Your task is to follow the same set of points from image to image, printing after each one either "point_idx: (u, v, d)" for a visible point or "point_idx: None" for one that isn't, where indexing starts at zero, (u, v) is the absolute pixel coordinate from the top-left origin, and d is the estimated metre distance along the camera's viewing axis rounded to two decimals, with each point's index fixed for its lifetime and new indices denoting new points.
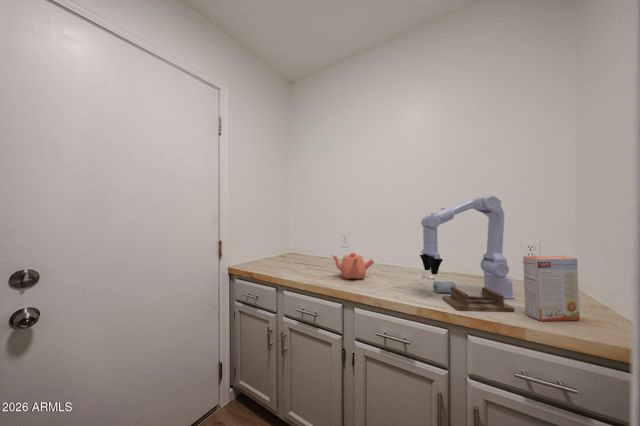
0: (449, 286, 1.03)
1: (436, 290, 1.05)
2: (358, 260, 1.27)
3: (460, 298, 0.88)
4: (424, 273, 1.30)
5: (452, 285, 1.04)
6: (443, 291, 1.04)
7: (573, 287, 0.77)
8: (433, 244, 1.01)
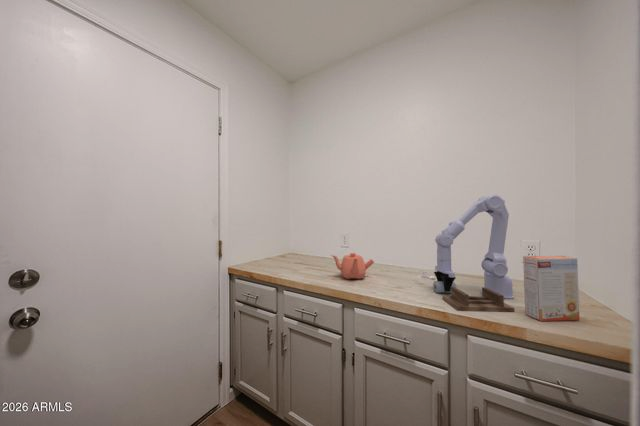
0: None
1: (436, 290, 1.05)
2: (358, 260, 1.27)
3: (460, 298, 0.88)
4: (424, 273, 1.30)
5: (452, 285, 1.04)
6: (443, 291, 1.04)
7: (573, 287, 0.77)
8: (447, 262, 1.03)
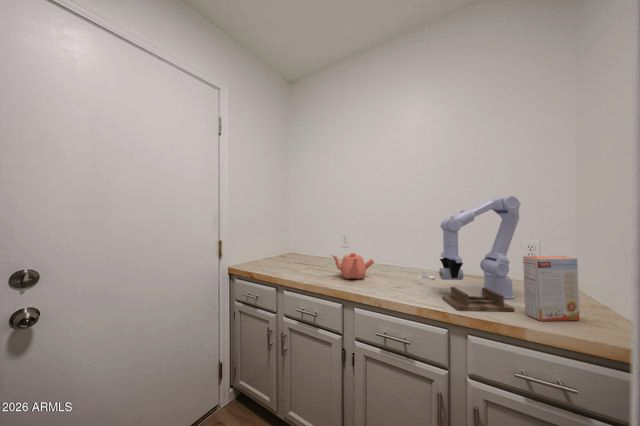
0: None
1: (442, 277, 1.01)
2: (358, 260, 1.27)
3: (460, 298, 0.88)
4: (424, 273, 1.30)
5: (459, 271, 1.00)
6: (450, 278, 1.00)
7: (573, 287, 0.77)
8: (454, 247, 0.99)
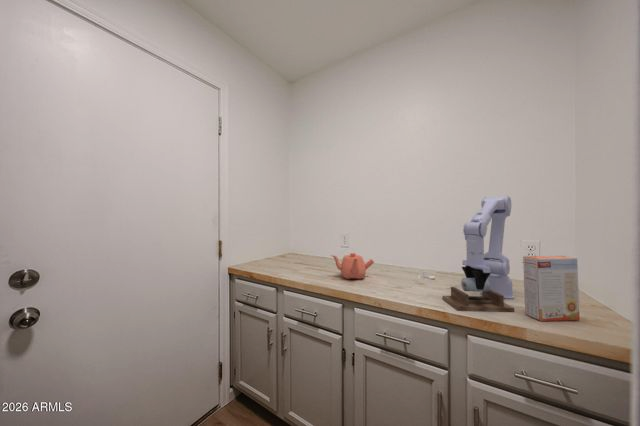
0: None
1: (466, 288, 0.90)
2: (358, 260, 1.27)
3: (460, 298, 0.88)
4: (424, 273, 1.30)
5: (485, 282, 0.88)
6: (474, 289, 0.89)
7: (573, 287, 0.77)
8: (479, 255, 0.88)
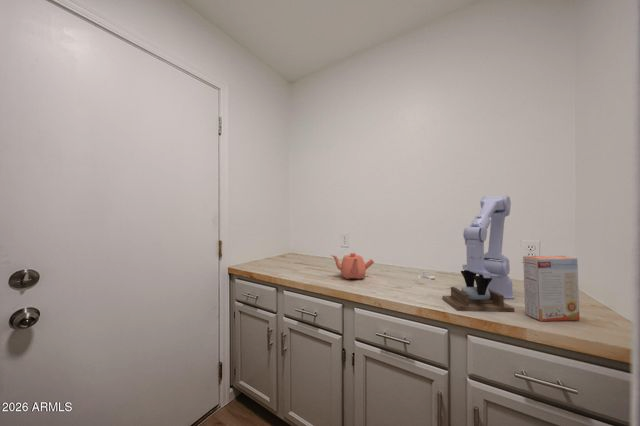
0: None
1: None
2: (358, 260, 1.27)
3: (460, 298, 0.88)
4: (424, 273, 1.30)
5: None
6: (475, 298, 0.88)
7: (573, 287, 0.77)
8: (479, 260, 0.88)
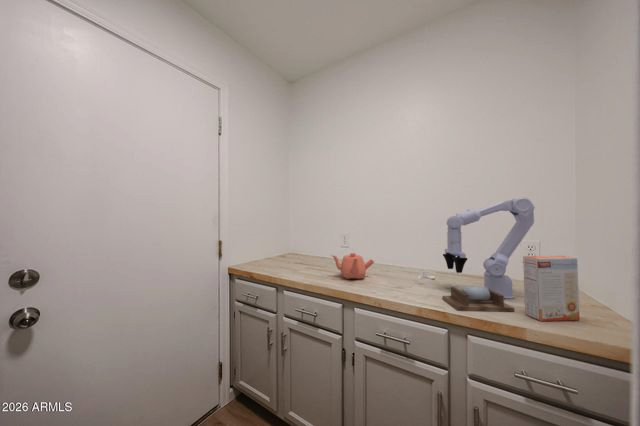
0: (482, 292, 0.88)
1: None
2: (358, 260, 1.27)
3: (460, 298, 0.88)
4: (424, 273, 1.30)
5: (485, 291, 0.88)
6: (475, 298, 0.88)
7: (573, 287, 0.77)
8: (457, 243, 1.05)
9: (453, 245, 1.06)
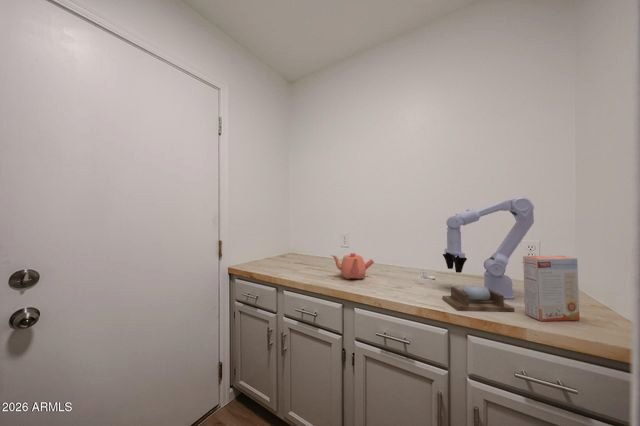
0: (482, 292, 0.88)
1: None
2: (358, 260, 1.27)
3: (460, 298, 0.88)
4: (424, 273, 1.30)
5: (485, 291, 0.88)
6: (475, 298, 0.88)
7: (573, 287, 0.77)
8: (457, 243, 1.06)
9: (453, 245, 1.06)
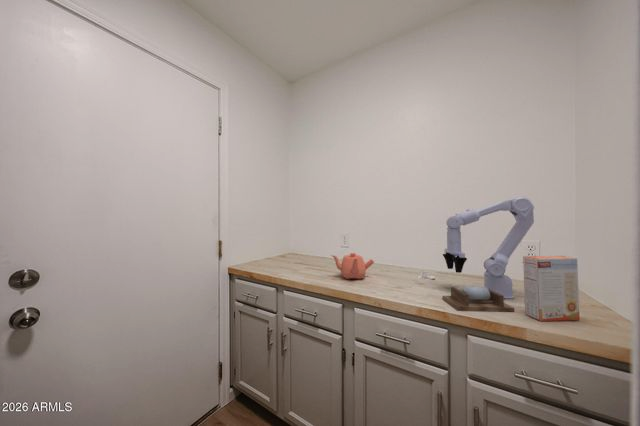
0: (482, 292, 0.88)
1: None
2: (358, 260, 1.27)
3: (460, 298, 0.88)
4: (424, 273, 1.30)
5: (485, 291, 0.88)
6: (475, 298, 0.88)
7: (573, 287, 0.77)
8: (457, 243, 1.06)
9: (453, 245, 1.06)
